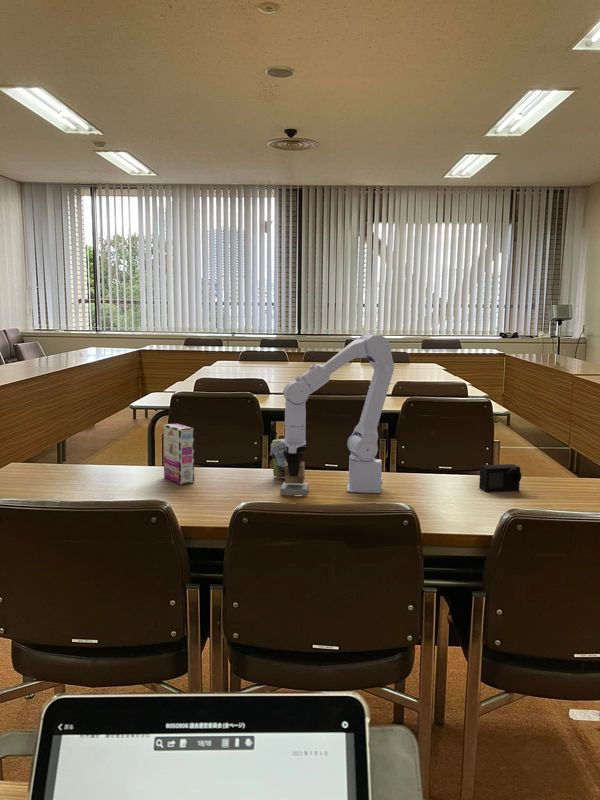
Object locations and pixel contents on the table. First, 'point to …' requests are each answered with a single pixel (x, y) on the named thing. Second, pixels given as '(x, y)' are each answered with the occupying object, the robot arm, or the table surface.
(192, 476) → the candy bar box
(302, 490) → the plinth
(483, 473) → the digital camera
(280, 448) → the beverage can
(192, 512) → the table surface
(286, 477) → the walnut block
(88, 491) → the table surface
